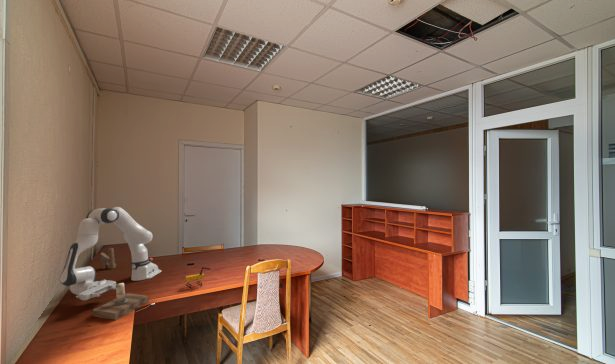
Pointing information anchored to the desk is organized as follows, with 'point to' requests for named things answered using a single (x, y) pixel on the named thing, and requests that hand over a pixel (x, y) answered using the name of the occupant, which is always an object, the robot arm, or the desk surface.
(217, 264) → the desk surface
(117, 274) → the desk surface
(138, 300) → the peg hole board
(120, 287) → the beech peg
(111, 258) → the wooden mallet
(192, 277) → the robot dog
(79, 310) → the desk surface
